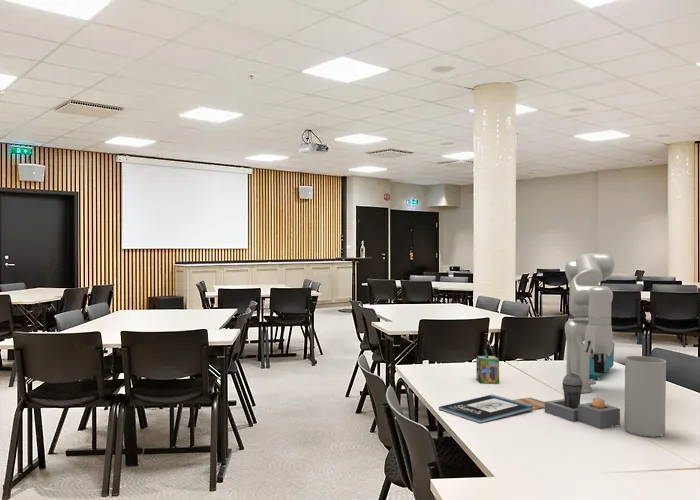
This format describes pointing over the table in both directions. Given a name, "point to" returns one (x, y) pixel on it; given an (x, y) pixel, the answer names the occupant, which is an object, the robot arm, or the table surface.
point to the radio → (607, 365)
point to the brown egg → (598, 403)
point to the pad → (532, 403)
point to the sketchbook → (486, 408)
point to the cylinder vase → (645, 395)
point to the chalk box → (487, 369)
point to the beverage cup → (572, 389)
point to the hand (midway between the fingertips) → (599, 372)
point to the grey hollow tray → (585, 413)
